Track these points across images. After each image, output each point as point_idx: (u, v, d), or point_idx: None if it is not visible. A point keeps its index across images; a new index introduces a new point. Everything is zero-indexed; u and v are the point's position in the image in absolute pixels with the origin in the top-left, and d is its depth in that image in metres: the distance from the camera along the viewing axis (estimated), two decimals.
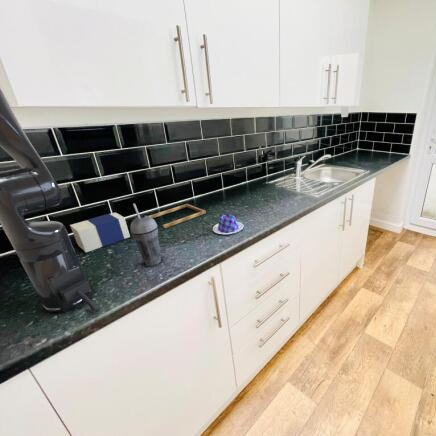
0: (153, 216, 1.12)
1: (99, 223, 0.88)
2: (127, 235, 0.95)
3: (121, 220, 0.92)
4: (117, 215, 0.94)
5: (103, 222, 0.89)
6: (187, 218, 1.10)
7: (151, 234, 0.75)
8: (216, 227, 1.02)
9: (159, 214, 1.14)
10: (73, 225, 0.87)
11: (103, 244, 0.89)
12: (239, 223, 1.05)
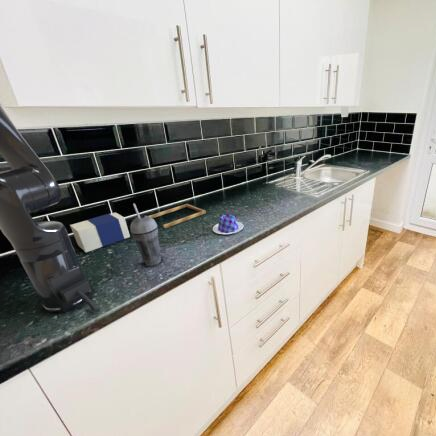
0: (153, 216, 1.12)
1: (99, 223, 0.88)
2: (127, 235, 0.95)
3: (121, 220, 0.92)
4: (117, 215, 0.94)
5: (103, 222, 0.89)
6: (187, 218, 1.10)
7: (151, 234, 0.75)
8: (216, 227, 1.02)
9: (159, 214, 1.14)
10: (73, 225, 0.87)
11: (103, 244, 0.89)
12: (239, 223, 1.05)
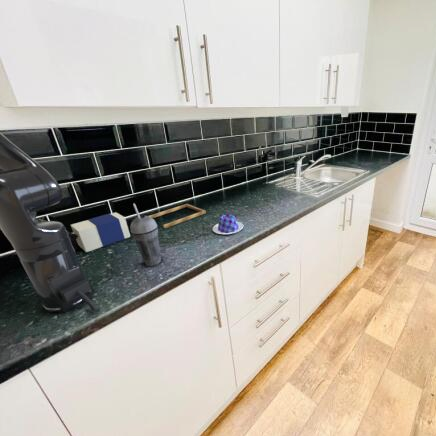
0: (153, 216, 1.12)
1: (99, 223, 0.88)
2: (127, 235, 0.95)
3: (122, 220, 0.92)
4: (117, 215, 0.94)
5: (103, 222, 0.89)
6: (187, 218, 1.10)
7: (151, 234, 0.75)
8: (216, 227, 1.02)
9: (159, 214, 1.14)
10: (73, 225, 0.87)
11: (103, 244, 0.89)
12: (239, 223, 1.05)
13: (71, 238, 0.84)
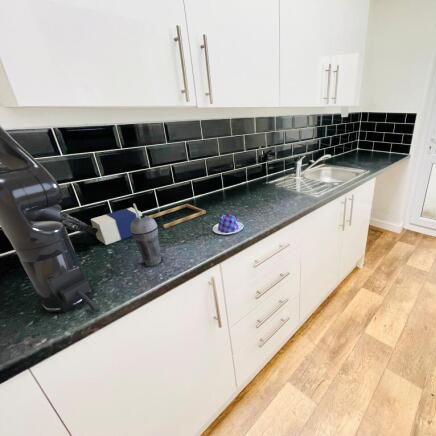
0: (153, 216, 1.12)
1: (118, 217, 0.92)
2: None
3: None
4: (134, 210, 0.99)
5: (122, 216, 0.93)
6: (187, 218, 1.10)
7: (151, 234, 0.75)
8: (216, 227, 1.02)
9: (159, 214, 1.14)
10: (93, 219, 0.91)
11: (122, 237, 0.94)
12: (239, 223, 1.05)
13: (92, 231, 0.88)
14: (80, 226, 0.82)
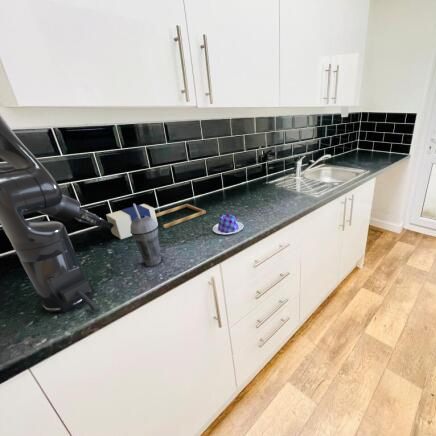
0: None
1: (132, 213, 0.96)
2: None
3: (151, 211, 1.01)
4: (147, 206, 1.03)
5: None
6: (187, 218, 1.10)
7: (151, 234, 0.75)
8: (216, 227, 1.02)
9: (159, 214, 1.14)
10: (109, 214, 0.95)
11: None
12: (239, 223, 1.05)
13: (108, 226, 0.92)
14: (98, 221, 0.86)
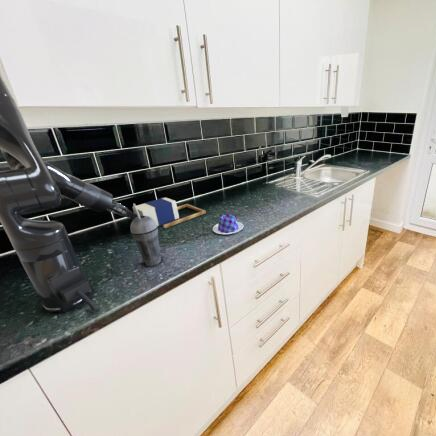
0: None
1: (157, 205, 1.03)
2: (177, 216, 1.11)
3: (173, 204, 1.08)
4: (168, 199, 1.10)
5: (160, 204, 1.04)
6: (187, 218, 1.10)
7: (151, 234, 0.75)
8: (216, 227, 1.02)
9: None
10: None
11: (159, 223, 1.05)
12: (239, 223, 1.05)
13: None
14: (128, 212, 0.93)
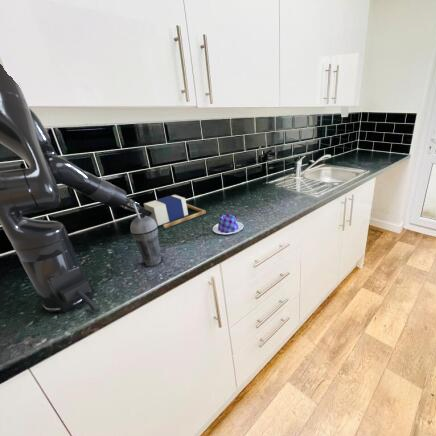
0: None
1: (167, 202, 1.06)
2: (186, 213, 1.14)
3: (183, 200, 1.11)
4: (178, 196, 1.13)
5: (170, 201, 1.07)
6: (187, 218, 1.10)
7: (151, 234, 0.75)
8: (216, 227, 1.02)
9: None
10: (146, 203, 1.05)
11: (170, 219, 1.08)
12: (239, 223, 1.05)
13: (147, 214, 1.02)
14: (140, 208, 0.96)
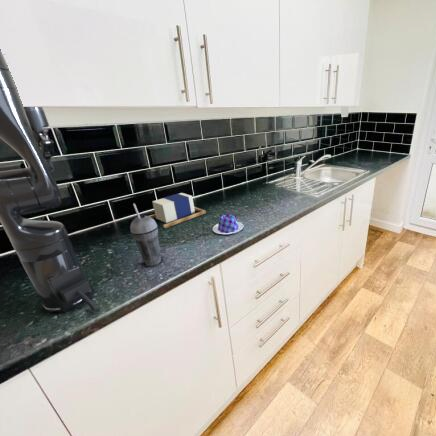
0: (153, 216, 1.12)
1: (175, 200, 1.09)
2: (193, 211, 1.17)
3: (190, 198, 1.14)
4: (185, 194, 1.16)
5: (178, 199, 1.10)
6: (187, 218, 1.10)
7: (151, 234, 0.75)
8: (216, 227, 1.02)
9: None
10: (155, 201, 1.08)
11: (178, 217, 1.11)
12: (239, 223, 1.05)
13: (48, 167, 0.76)
14: (50, 149, 0.73)
